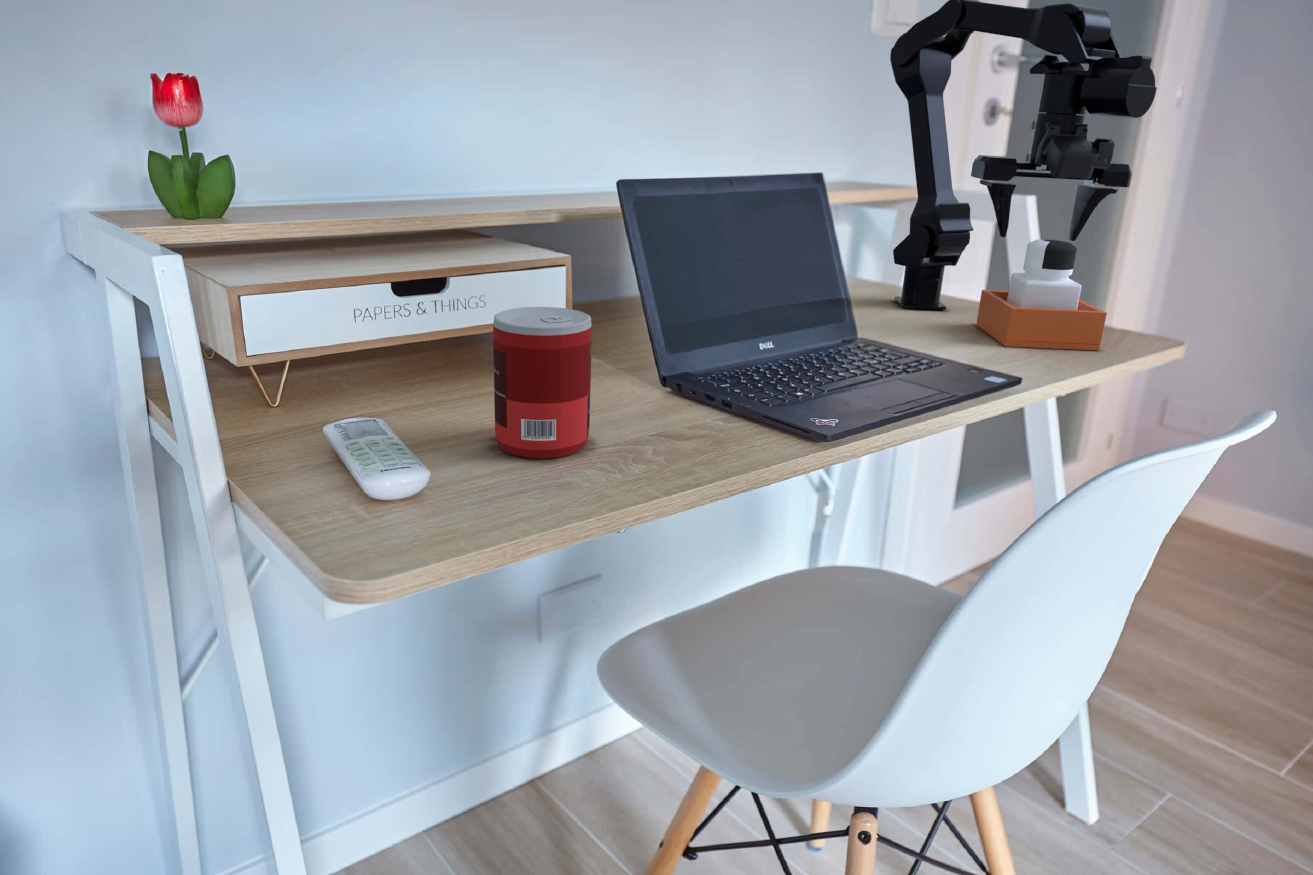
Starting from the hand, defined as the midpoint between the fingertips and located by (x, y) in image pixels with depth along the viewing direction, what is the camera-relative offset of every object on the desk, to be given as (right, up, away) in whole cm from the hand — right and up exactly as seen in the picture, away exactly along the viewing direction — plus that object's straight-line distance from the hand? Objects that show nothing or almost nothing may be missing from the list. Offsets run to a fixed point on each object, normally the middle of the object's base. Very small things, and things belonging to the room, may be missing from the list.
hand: (1037, 238), depth 123 cm
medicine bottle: (+1, -12, +2) cm, 12 cm away
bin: (0, -13, +2) cm, 13 cm away
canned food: (-60, -27, -44) cm, 79 cm away
